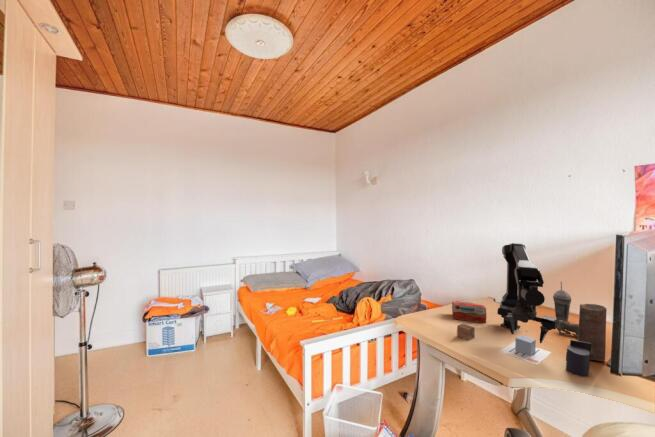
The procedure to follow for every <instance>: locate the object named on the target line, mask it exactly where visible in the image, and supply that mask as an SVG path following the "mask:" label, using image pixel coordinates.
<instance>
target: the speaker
mask: <svg viewBox="0 0 655 437" xmlns="http://www.w3.org/2000/svg"><path fill="white" fill-rule="evenodd" d="M590 353H591V343H588V342H582V341H578V340H575V339H570V342H569V345H567V346H566V353H565V364H566V365H565V370H566V372H568V373H570V374H572V375H575V376H578V377H582V378H585V377H589V372H590V364H591V360H590Z"/></svg>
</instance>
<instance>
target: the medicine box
mask: <svg viewBox="0 0 655 437" xmlns="http://www.w3.org/2000/svg"><path fill="white" fill-rule="evenodd" d="M451 304H452V305H451V311H452V317H453V319H454V320H459V321H466V322H474V323H481V324H486V323H487V307H486V306H485V304H484V303H479V302H473V301H471V302H470V301H463V300H462V301H461V300H455V299H453V300H452V303H451Z"/></svg>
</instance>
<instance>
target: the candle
mask: <svg viewBox="0 0 655 437" xmlns="http://www.w3.org/2000/svg"><path fill="white" fill-rule="evenodd" d="M607 309H608V308H606V307H605V306H604V305H601V304H596V303H580V304H579V316H578V319H579V320H578V324H579V336H578V338H577V341H582V342H588V343H591V353H590V361H597V362H603V361H605V360H606V346H607V345H606V341H607V340H606V339H607V337H606V336H607V331H606V330H607Z"/></svg>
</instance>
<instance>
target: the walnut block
mask: <svg viewBox="0 0 655 437" xmlns="http://www.w3.org/2000/svg"><path fill="white" fill-rule="evenodd" d="M456 329H457V330H456V338H459V339H461V340H462V339H463V340H466V341H470V340H473V339H475V336H476V334H475V331H476V330H475V329H476V328H475V326H472V325H470V324H466V323H464V322H463V323H461V324H458V325H457V327H456Z"/></svg>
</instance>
